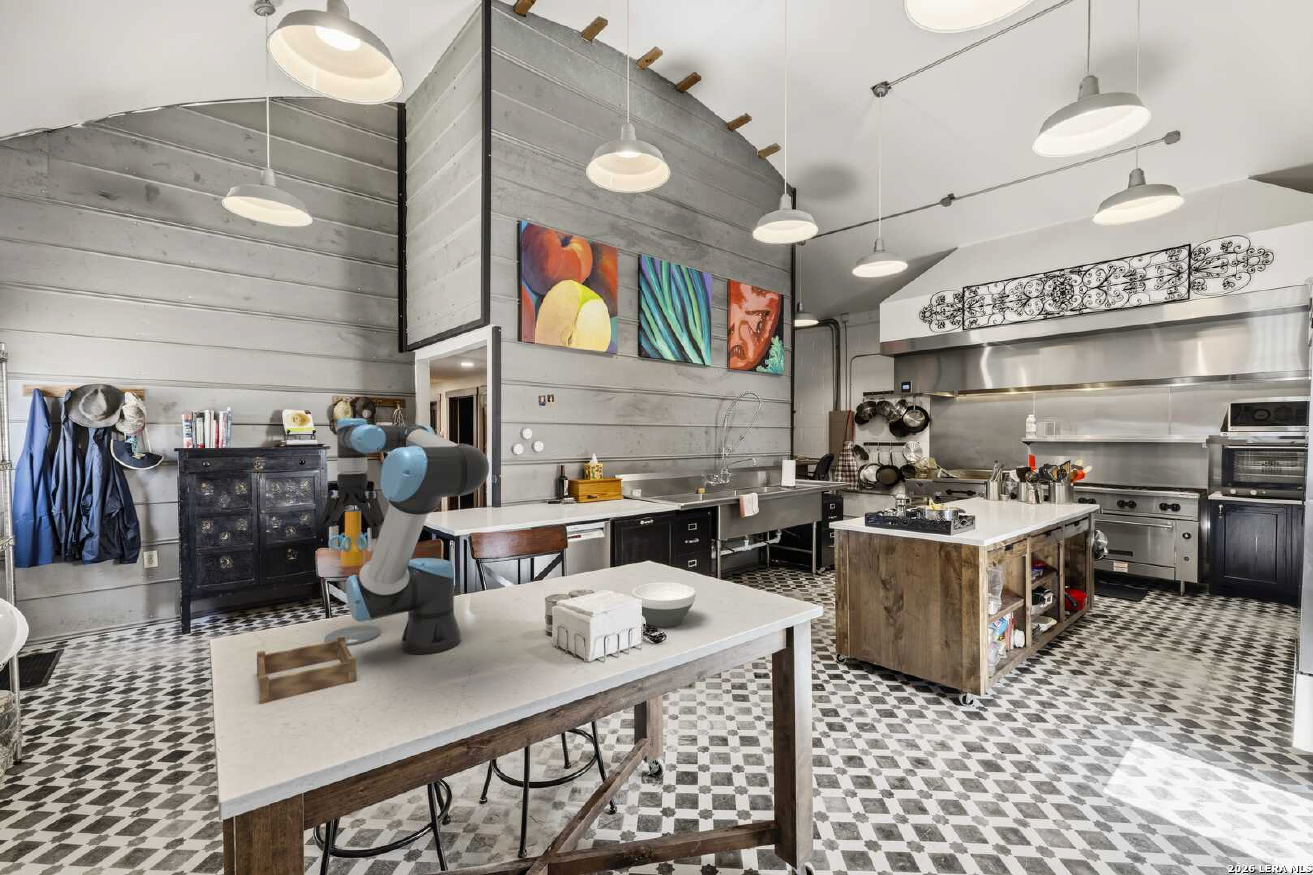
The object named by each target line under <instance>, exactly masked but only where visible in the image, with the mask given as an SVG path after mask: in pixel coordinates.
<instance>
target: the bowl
mask: <svg viewBox="0 0 1313 875" xmlns="http://www.w3.org/2000/svg"><path fill="white" fill-rule="evenodd" d="M696 592H697V591H696V589H695V588H694V587H692V586H689V585H686V584H684V583H683V584H682V583H678V582H677V583H676V582H652V583H645V584H641V585H638V586H635V587H634V588H632V592H631V595H632V598H633V597H634V598H638V599H641V600H642V614H641V616H642V617H643V618H644V619H645V622H646V624H648V625H650V626H653V627H656V628H672V627H676V626H678V625H681V623H683V620H684V618H685V617H686V616H687V615H688V613H689V610H690V609H691V608H692V606H693V605H694V602H695V600H696V599H695V598H696V594H697V593H696Z"/></svg>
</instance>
